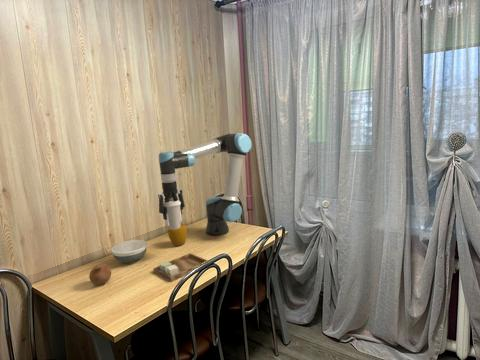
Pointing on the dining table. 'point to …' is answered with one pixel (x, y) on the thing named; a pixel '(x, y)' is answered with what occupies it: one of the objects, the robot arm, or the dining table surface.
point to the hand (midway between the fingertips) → (173, 222)
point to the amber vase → (178, 235)
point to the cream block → (172, 270)
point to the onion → (100, 274)
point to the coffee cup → (173, 213)
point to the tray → (181, 266)
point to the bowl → (129, 251)
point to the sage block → (165, 266)
